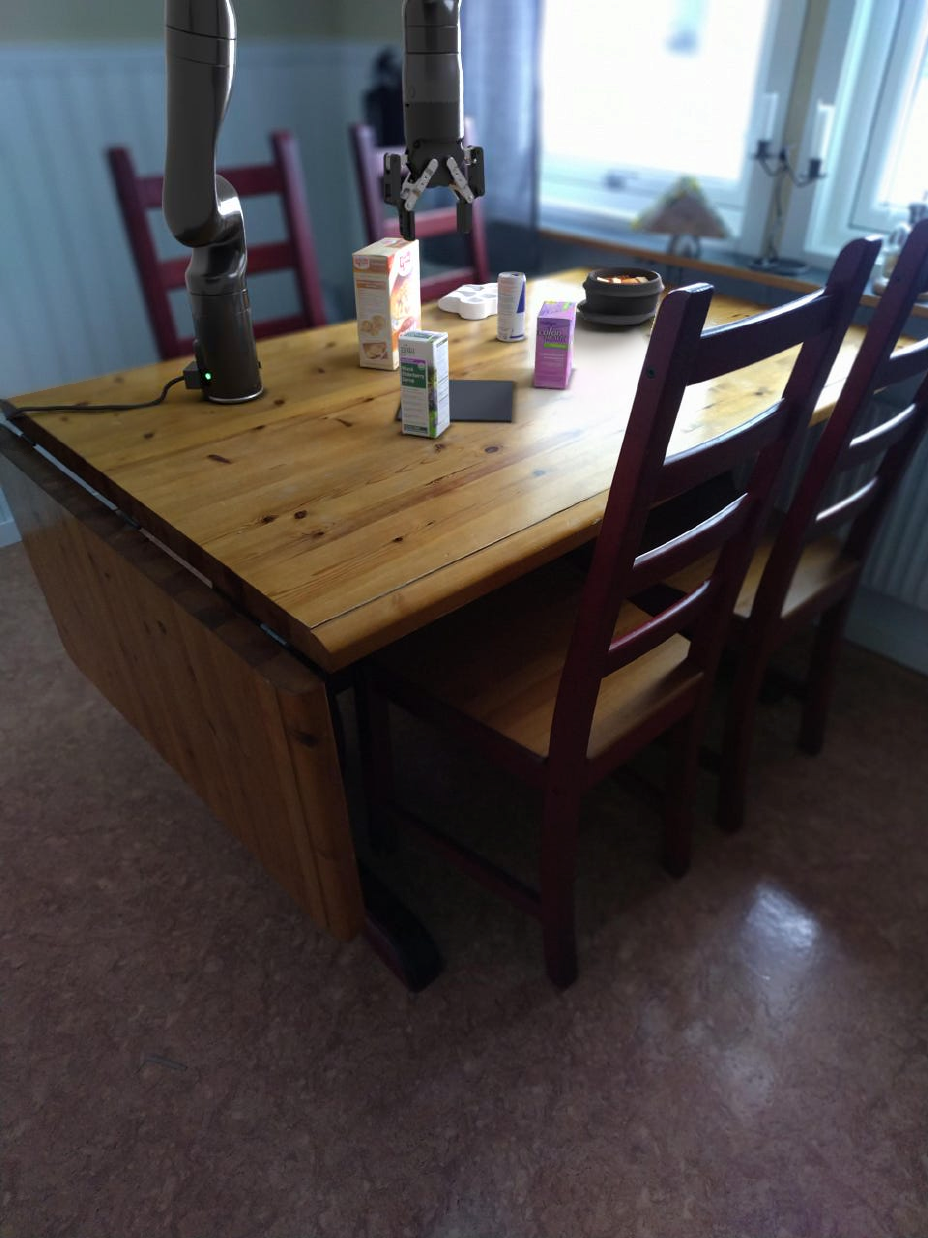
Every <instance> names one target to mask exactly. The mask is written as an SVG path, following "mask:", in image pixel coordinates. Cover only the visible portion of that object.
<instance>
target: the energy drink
mask: <svg viewBox="0 0 928 1238" xmlns="http://www.w3.org/2000/svg"><path fill="white" fill-rule="evenodd" d="M497 277H498V278H497V283H498V295H497V314H496V337H497V339H498V340H499V341H501V342H505V343H516V342H521V341H522V340H523V339H524V338H525V318H526V317H525V316H526V315H525V314H526V280H527V278H526V275H525V273H524V272H518V271H504V272H500V273H499V274H498V276H497Z"/></svg>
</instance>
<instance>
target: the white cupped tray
mask: <svg viewBox="0 0 928 1238" xmlns="http://www.w3.org/2000/svg"><path fill="white" fill-rule="evenodd" d="M497 295H498V282H491V283H485V284H463V285H462V286H460V287H458V288H457V289H455V290H453V291H451V292H449V293H448V294H447V295H444V296H442V297H441V298H439V299H437V306H438V308H439V309H440V310H442V311H445V312H448V313H454V314H459V315H460V317H461V318H463V319H466V320H472V321H473V320H475V321H476V320H485V319H486V318H487V317H489V316H495V315H496V316H497Z"/></svg>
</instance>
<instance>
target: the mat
mask: <svg viewBox="0 0 928 1238" xmlns="http://www.w3.org/2000/svg"><path fill="white" fill-rule="evenodd" d="M513 398H514V380H507V379H505V380H502V379H501V380H497V379H496V380H494V379H493V380H491V379H449V422H462V423H463V422H465V423H466V422H469V423H470V422H472V423H475V422H476V423H480V422H481V423H512V419H513ZM396 421H398V422H399V421H400V422H402V404H401V406H400V408H399V412H398V414H397V418H396Z"/></svg>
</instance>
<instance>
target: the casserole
mask: <svg viewBox="0 0 928 1238" xmlns="http://www.w3.org/2000/svg"><path fill="white" fill-rule="evenodd" d="M581 287H582V289H583V290H584V292H585V298H584V299H582V300H580V301H579V302H578V303H577V305H576V310H578V311H579V312H580V313H581V314H582V318H583V319H584V320H586V321H589V322H592V323H596V324H602V325H603V324H605V325H615V326H632V325H633V326H634V325H639V324H641V323H643V322H645V321H647V320H650V319H654V318H656V317H655V313H656V309H657V306H658V304H659V302H660V297H661V293H662V292H663V291H664V290H665V288H666V286H665V284H664V283H663V281H662V276H661V274H659V273H657V272H656V271H653V270H651V269H645V268H639V267H630V266H629V267H628V266H614V267H613V266H612V267H604V268H598V269H595V270H592V271H590V272H588V274H587V276H586V278H585V280H584V281H583V282H582V284H581Z"/></svg>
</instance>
